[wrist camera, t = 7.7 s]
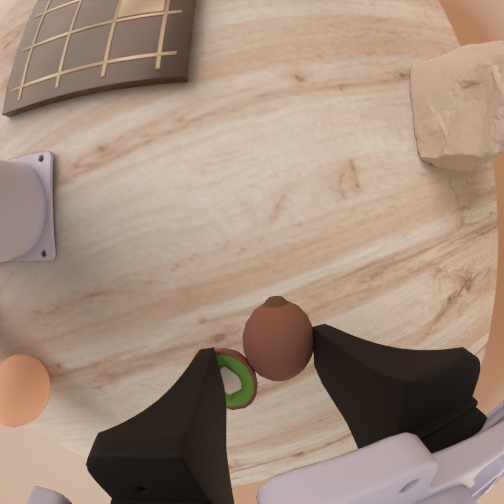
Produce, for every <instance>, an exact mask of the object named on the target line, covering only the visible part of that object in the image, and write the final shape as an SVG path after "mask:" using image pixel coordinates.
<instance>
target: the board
mask: <svg viewBox="0 0 504 504" xmlns="http://www.w3.org/2000/svg"><path fill="white" fill-rule="evenodd" d="M195 6H196V0H38V1H37V3H36V5H35V7H34V9H33V12H32V14H31V16H30V19H29V21H28V24H27V26H26V29H25V31H24V34H23V37H22V40H21V43H20V46H19V49H18V52H17V55H16V58H15V61H14V65H13V68H12V72H11V76H10V80H9V84H8V88H7V93H6V97H5V102H4V108H3V113H2V115H4V116H7V117H10V116H12V115H15V114H18V113H21V112H24V111H27V110H30V109H33V108H37V107H40V106H43V105H47V104H50V103H54V102H58V101H62V100H66V99H70V98H74V97H78V96H83V95H88V94H92V93H98V92H103V91H109V90H115V89H121V88H128V87H135V86H144V85H153V84H164V83H177V82H188V72H189V60H190V50H191V40H192V30H193V22H194V14H195Z"/></svg>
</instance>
